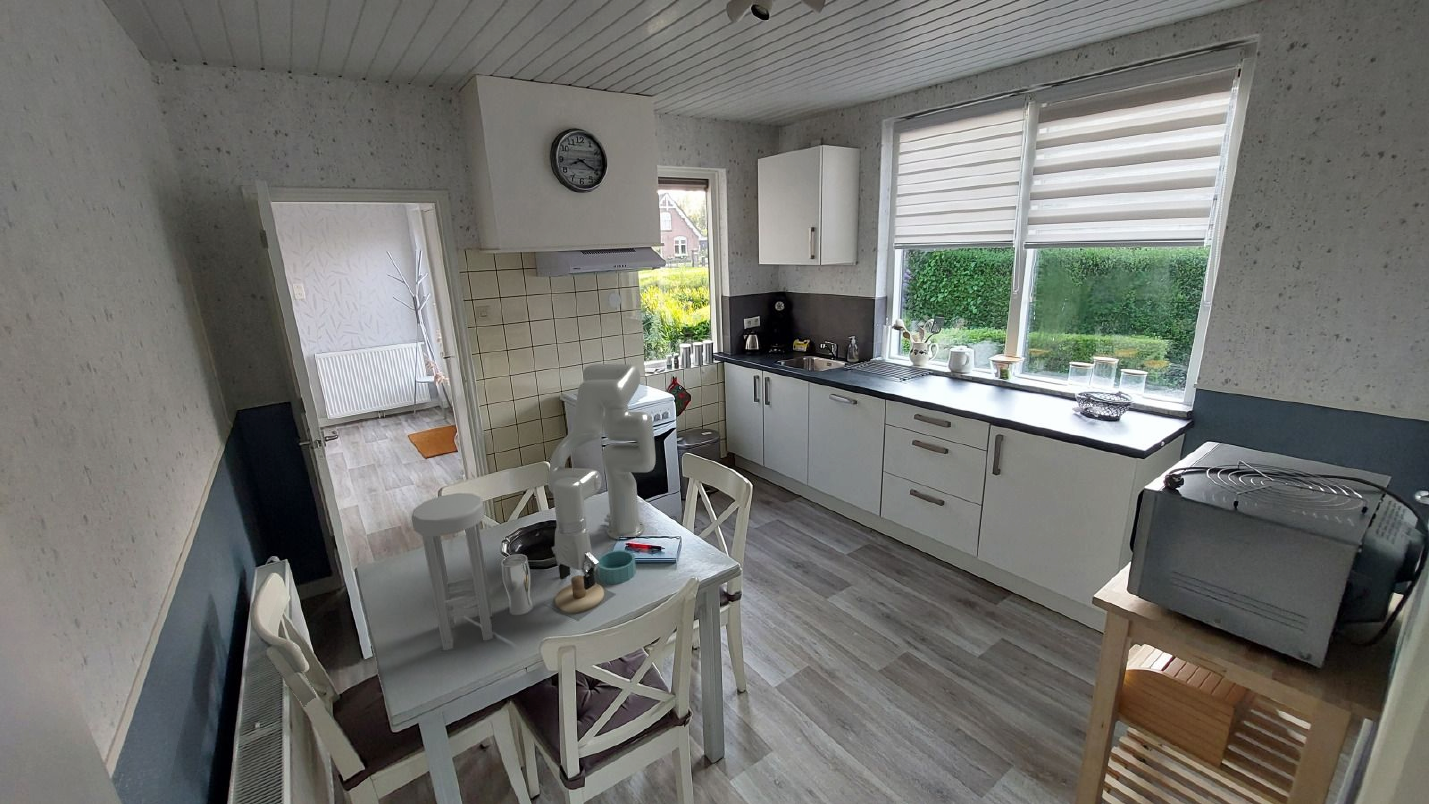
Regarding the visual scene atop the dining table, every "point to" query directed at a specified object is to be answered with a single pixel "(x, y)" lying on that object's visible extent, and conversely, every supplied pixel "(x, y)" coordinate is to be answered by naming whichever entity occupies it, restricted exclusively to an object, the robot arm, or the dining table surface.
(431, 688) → the dining table surface
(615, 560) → the bowl
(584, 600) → the lid
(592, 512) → the dining table surface
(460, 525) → the stool
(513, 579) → the beer glass
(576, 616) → the mat
